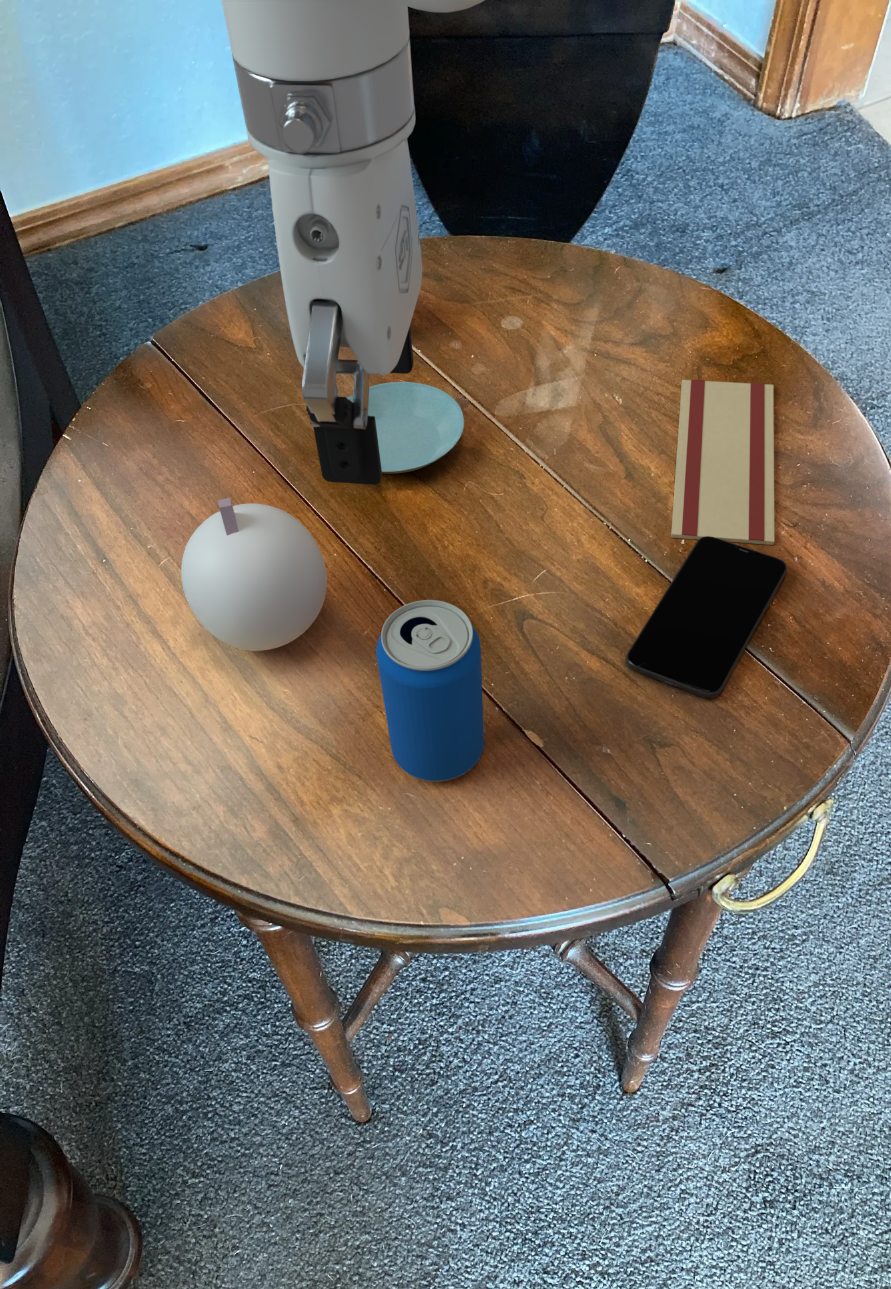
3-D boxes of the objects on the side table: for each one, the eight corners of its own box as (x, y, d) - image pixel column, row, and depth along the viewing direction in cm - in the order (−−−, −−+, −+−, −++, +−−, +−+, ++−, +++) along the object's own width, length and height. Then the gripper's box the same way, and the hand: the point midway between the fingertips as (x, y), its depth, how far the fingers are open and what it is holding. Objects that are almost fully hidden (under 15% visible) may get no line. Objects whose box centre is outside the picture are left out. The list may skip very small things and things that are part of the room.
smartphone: (715, 705, 76) (790, 569, 83) (717, 697, 76) (792, 561, 82) (619, 668, 79) (700, 539, 85) (620, 660, 78) (701, 530, 85)
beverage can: (439, 698, 78) (428, 579, 68) (503, 748, 75) (502, 631, 65) (373, 751, 76) (352, 635, 66) (437, 804, 73) (425, 691, 63)
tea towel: (772, 388, 96) (773, 383, 95) (773, 545, 85) (774, 540, 84) (681, 383, 97) (682, 378, 96) (670, 537, 86) (671, 533, 86)
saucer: (414, 509, 89) (412, 487, 87) (303, 461, 93) (298, 440, 92) (490, 429, 95) (490, 407, 93) (382, 388, 99) (379, 366, 97)
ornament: (177, 620, 84) (132, 499, 74) (288, 559, 87) (259, 435, 77) (246, 699, 79) (207, 581, 69) (360, 632, 82) (339, 510, 72)
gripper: (372, 197, 42) (408, 533, 56) (443, 6, 51) (459, 335, 65) (187, 191, 43) (269, 523, 57) (290, 5, 52) (338, 329, 66)
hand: (370, 422), depth 61 cm, fingers open, 9 cm apart
